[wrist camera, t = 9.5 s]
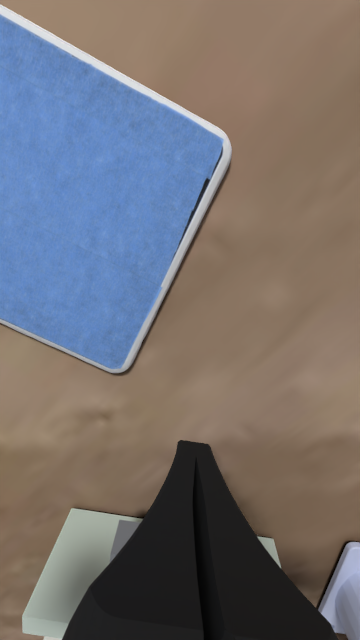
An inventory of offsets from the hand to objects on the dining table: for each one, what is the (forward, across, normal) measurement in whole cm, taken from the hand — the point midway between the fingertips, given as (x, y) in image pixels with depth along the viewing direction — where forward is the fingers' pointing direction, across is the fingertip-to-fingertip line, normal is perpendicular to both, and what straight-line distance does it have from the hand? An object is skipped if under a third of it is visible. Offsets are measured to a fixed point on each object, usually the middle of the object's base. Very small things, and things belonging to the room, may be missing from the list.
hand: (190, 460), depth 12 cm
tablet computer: (+4, +11, -10) cm, 16 cm away
